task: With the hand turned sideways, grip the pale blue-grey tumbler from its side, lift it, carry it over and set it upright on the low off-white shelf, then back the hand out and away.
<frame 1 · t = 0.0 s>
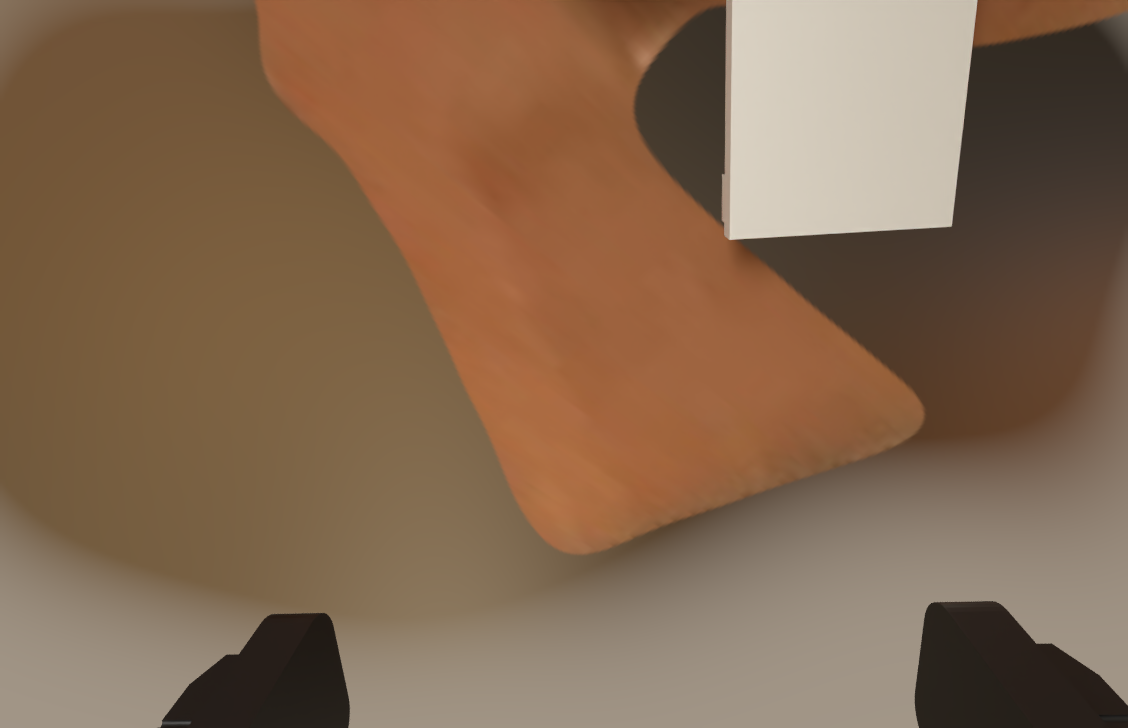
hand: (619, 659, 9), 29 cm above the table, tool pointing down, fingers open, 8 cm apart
shelf: (816, 35, 33), on the table
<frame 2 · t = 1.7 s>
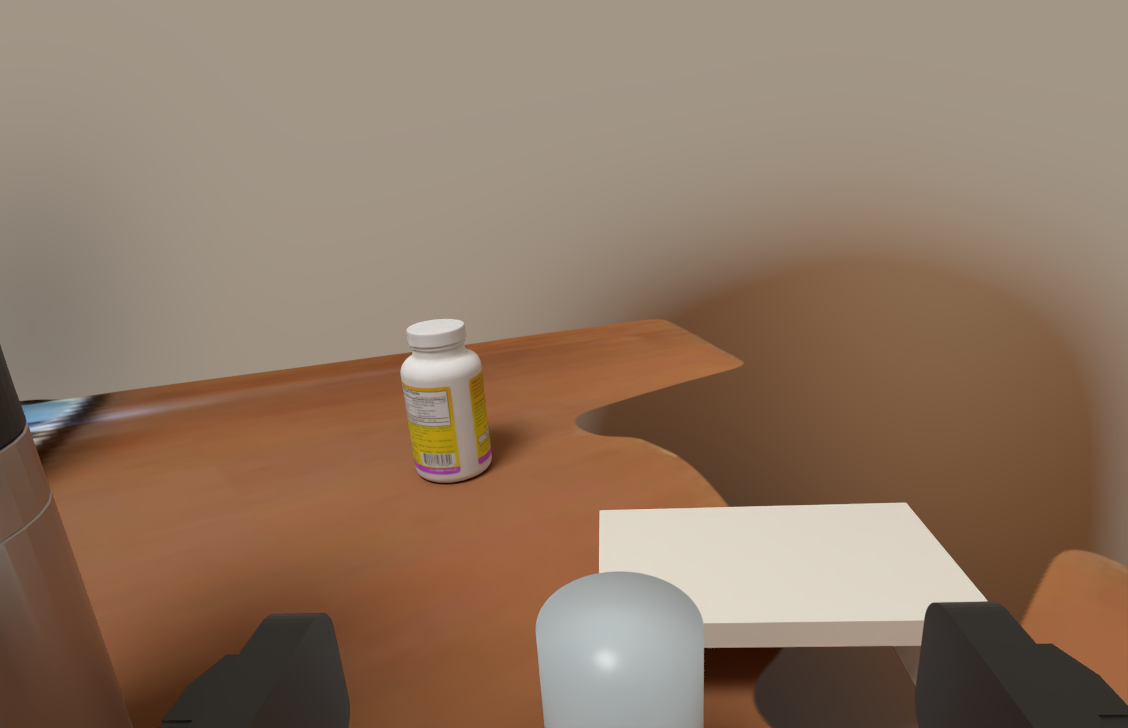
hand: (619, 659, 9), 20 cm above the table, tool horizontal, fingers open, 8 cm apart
shelf: (766, 634, 37), on the table
supplement bottle: (454, 469, 58), on the table
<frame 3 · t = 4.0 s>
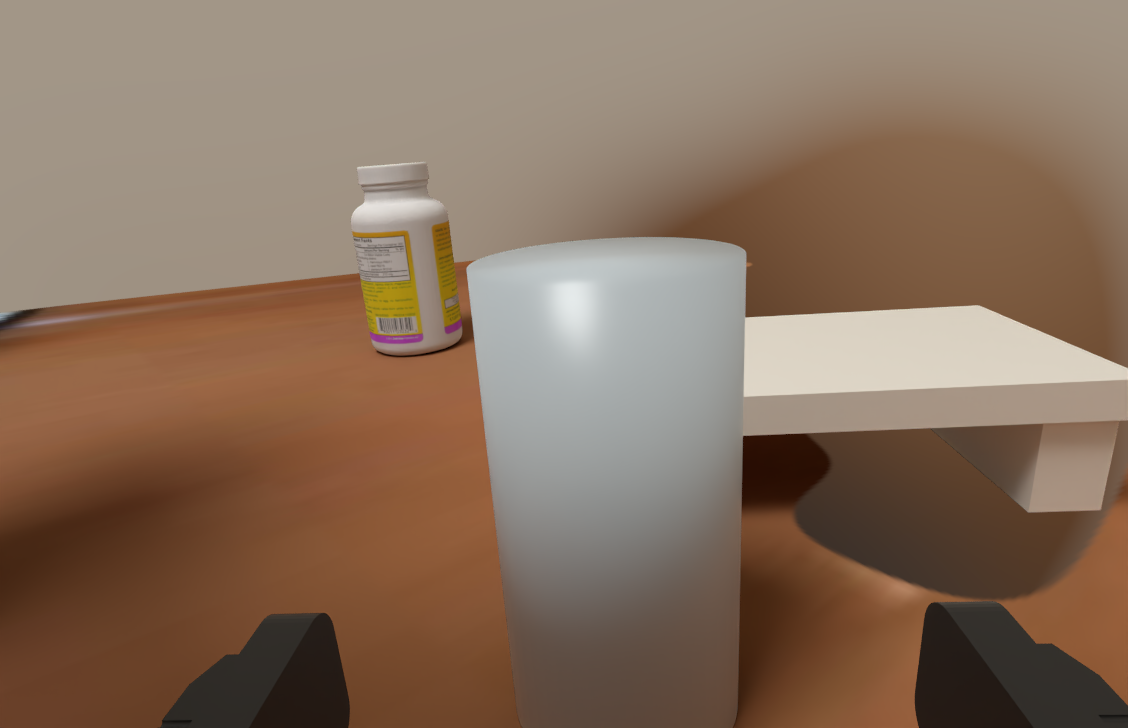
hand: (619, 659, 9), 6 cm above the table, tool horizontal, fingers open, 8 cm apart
tumbler: (624, 686, 17), on the table
shelf: (805, 461, 28), on the table
supplement bottle: (418, 347, 49), on the table
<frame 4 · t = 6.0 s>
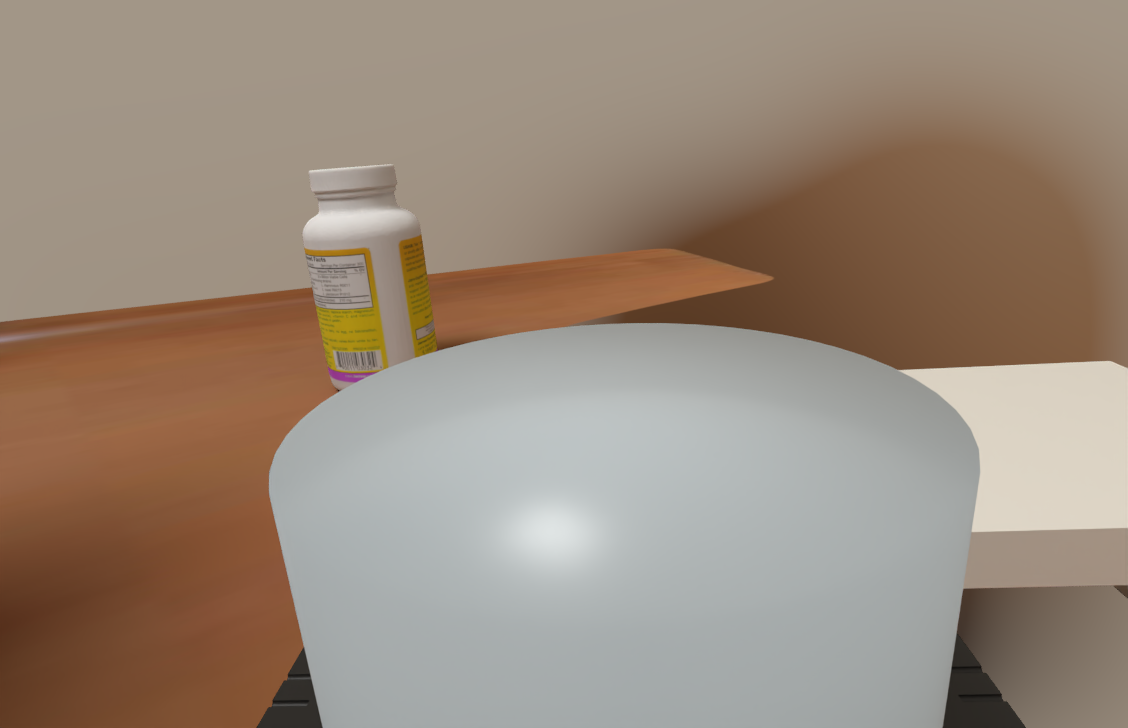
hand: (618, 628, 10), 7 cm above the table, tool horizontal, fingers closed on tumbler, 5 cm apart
shelf: (884, 582, 20), on the table
supplement bottle: (387, 383, 42), on the table
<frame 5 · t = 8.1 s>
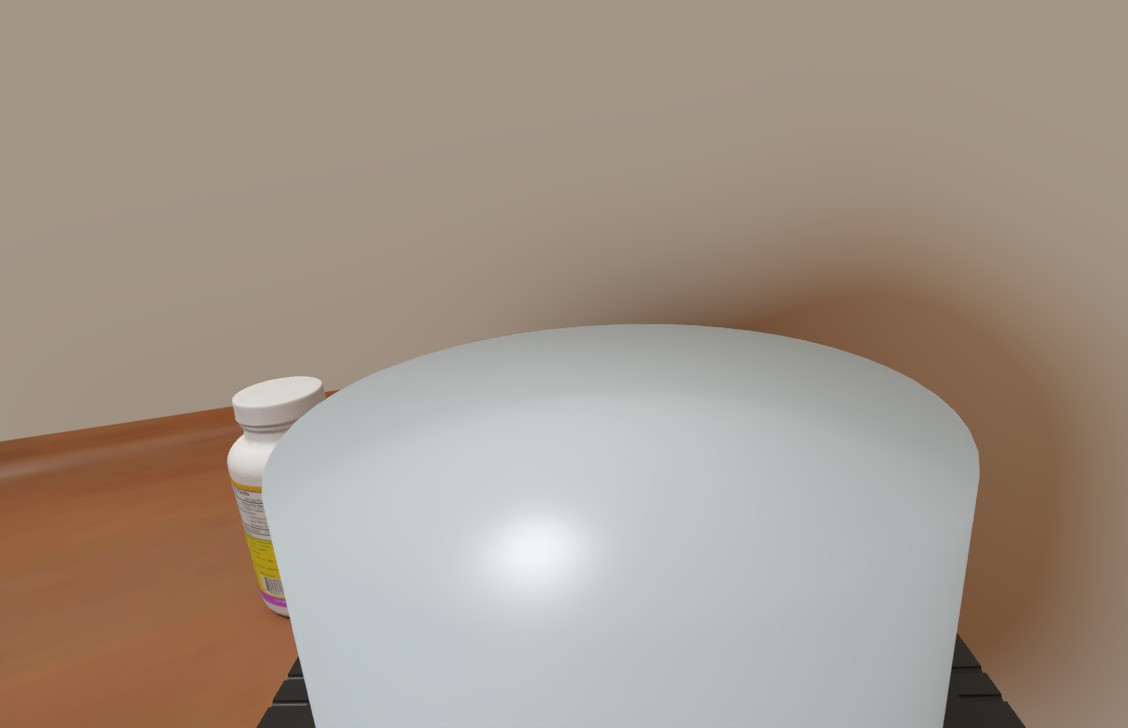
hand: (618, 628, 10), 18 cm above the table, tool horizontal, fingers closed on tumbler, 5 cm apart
supplement bottle: (322, 588, 41), on the table
when the fingers open (13 cm above the table, at t = 10.0 s): tumbler drops 1 cm, resting on shelf.
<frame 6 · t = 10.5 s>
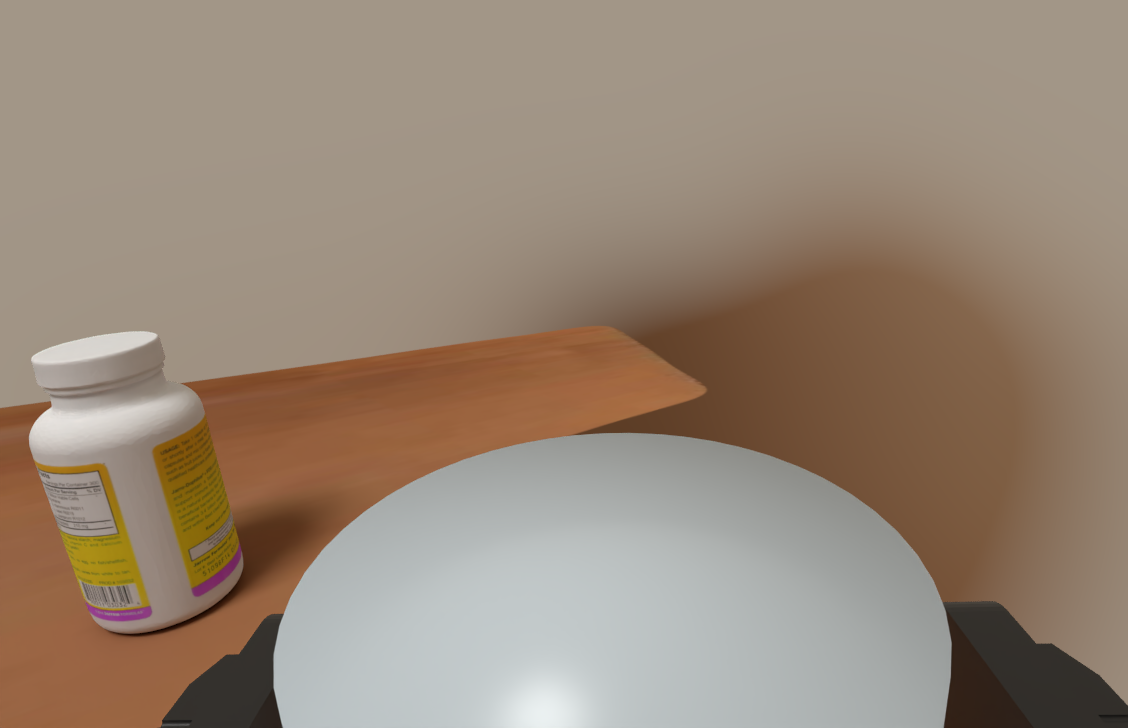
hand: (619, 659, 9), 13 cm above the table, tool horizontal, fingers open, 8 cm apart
supplement bottle: (173, 596, 33), on the table
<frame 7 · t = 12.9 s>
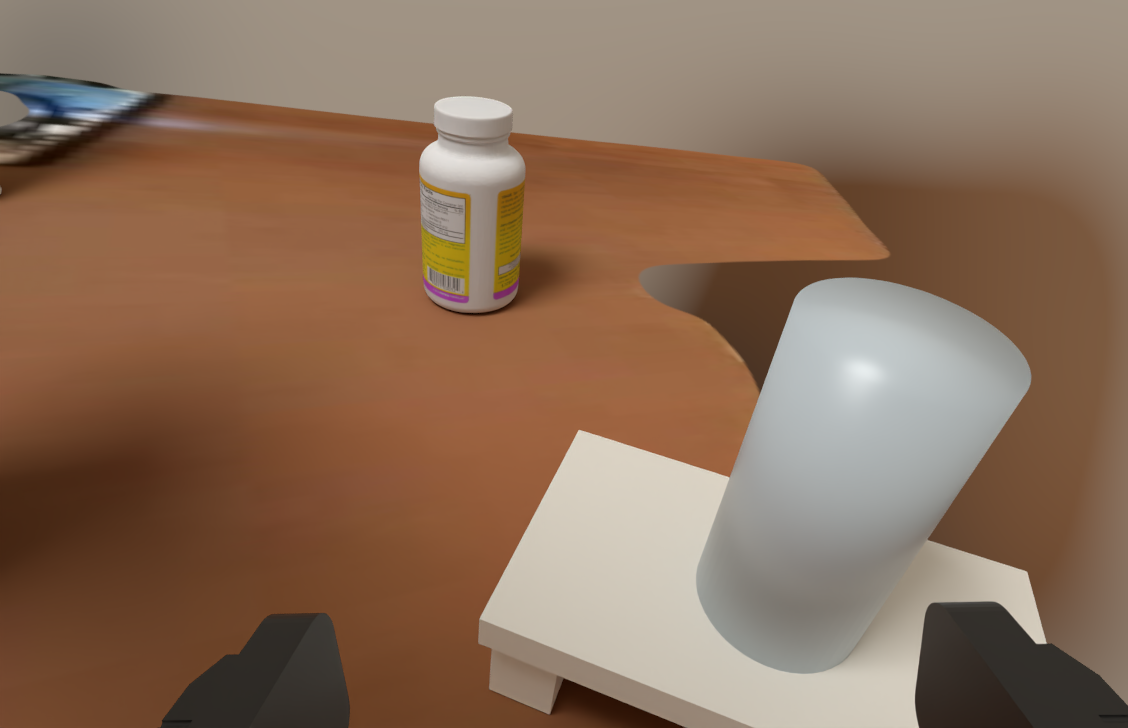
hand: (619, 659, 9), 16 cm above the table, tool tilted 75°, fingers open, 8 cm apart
tumbler: (776, 595, 23), point 5 cm above the table, touching shelf
shelf: (739, 669, 26), on the table
supplement bottle: (470, 294, 47), on the table
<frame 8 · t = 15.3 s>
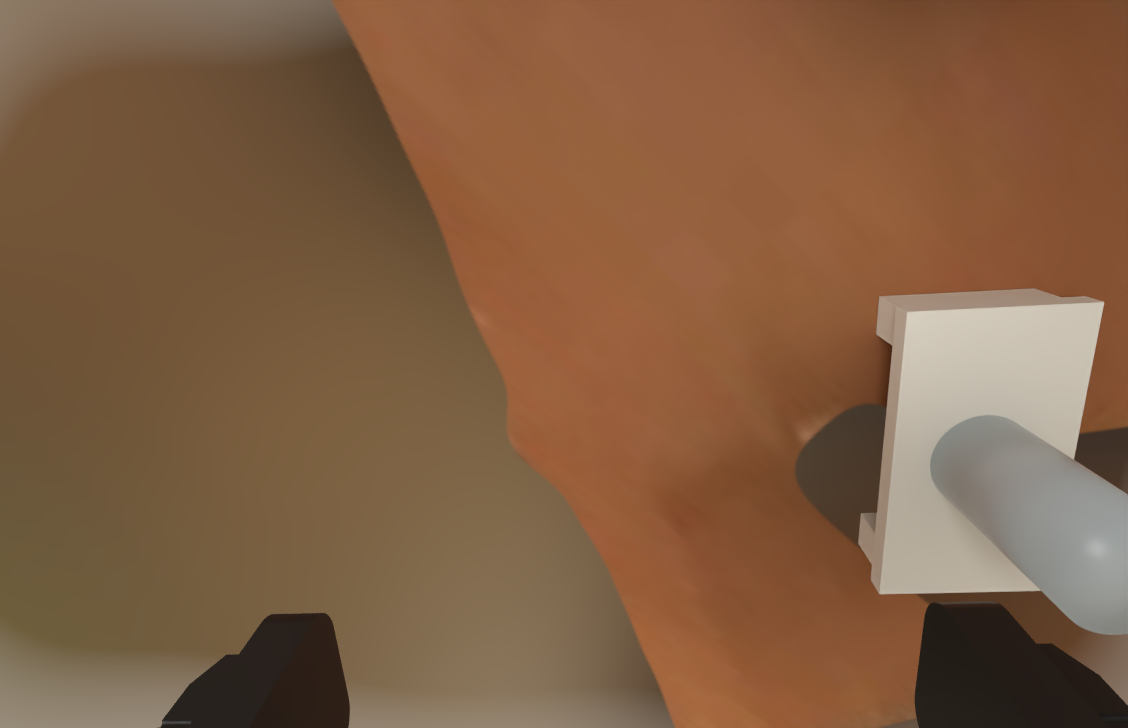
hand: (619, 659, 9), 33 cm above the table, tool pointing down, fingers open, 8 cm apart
tumbler: (980, 460, 38), point 5 cm above the table, touching shelf
shelf: (940, 425, 43), on the table
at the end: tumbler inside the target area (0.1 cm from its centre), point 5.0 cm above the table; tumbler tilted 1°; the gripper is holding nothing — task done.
